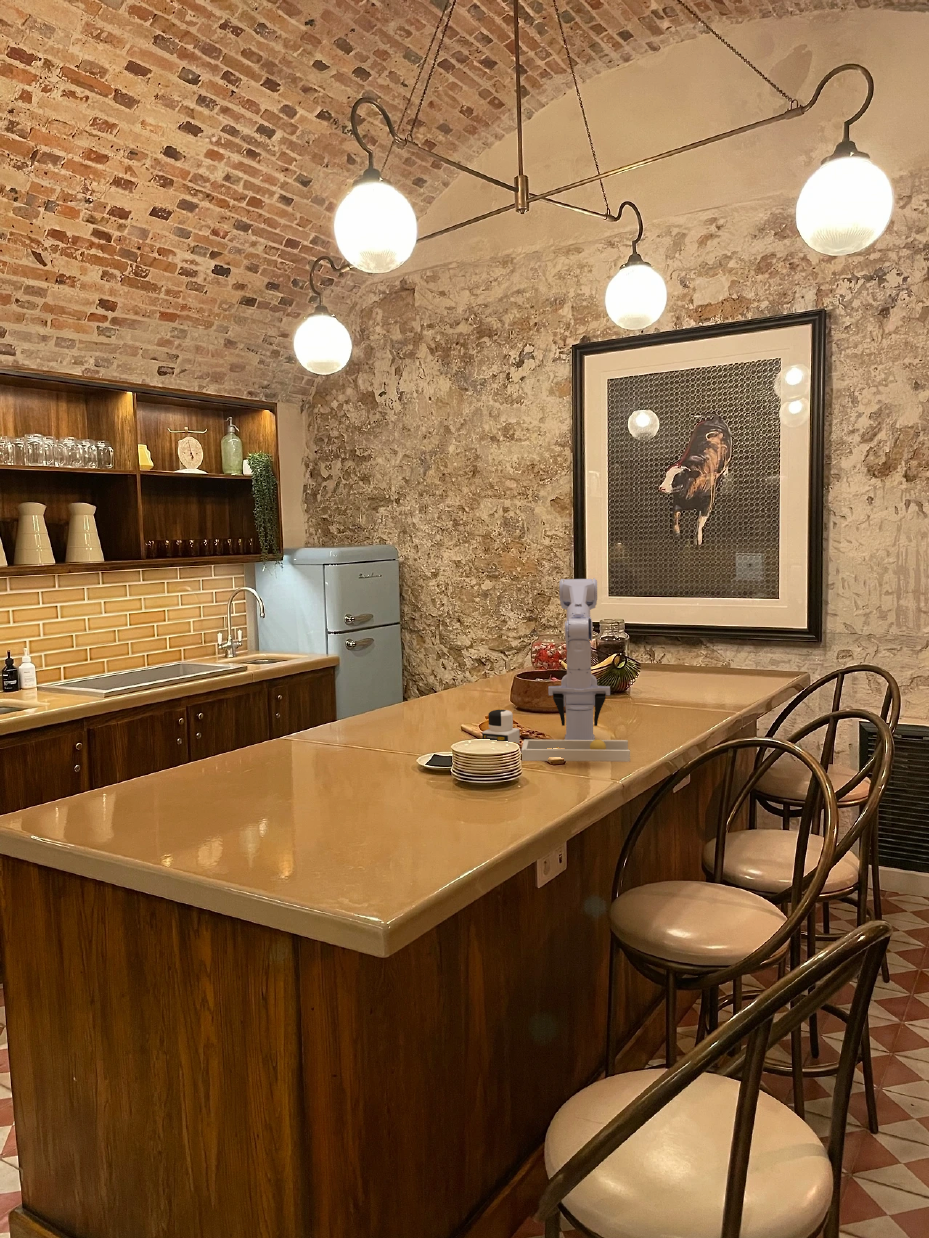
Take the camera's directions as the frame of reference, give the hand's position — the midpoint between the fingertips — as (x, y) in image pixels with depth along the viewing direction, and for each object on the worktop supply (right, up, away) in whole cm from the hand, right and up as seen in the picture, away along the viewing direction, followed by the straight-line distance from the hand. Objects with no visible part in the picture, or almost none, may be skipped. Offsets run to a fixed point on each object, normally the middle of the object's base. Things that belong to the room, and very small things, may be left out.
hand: (579, 724), depth 226 cm
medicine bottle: (-18, -10, +11) cm, 23 cm away
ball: (+6, -9, +10) cm, 15 cm away
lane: (+1, -9, +11) cm, 14 cm away
